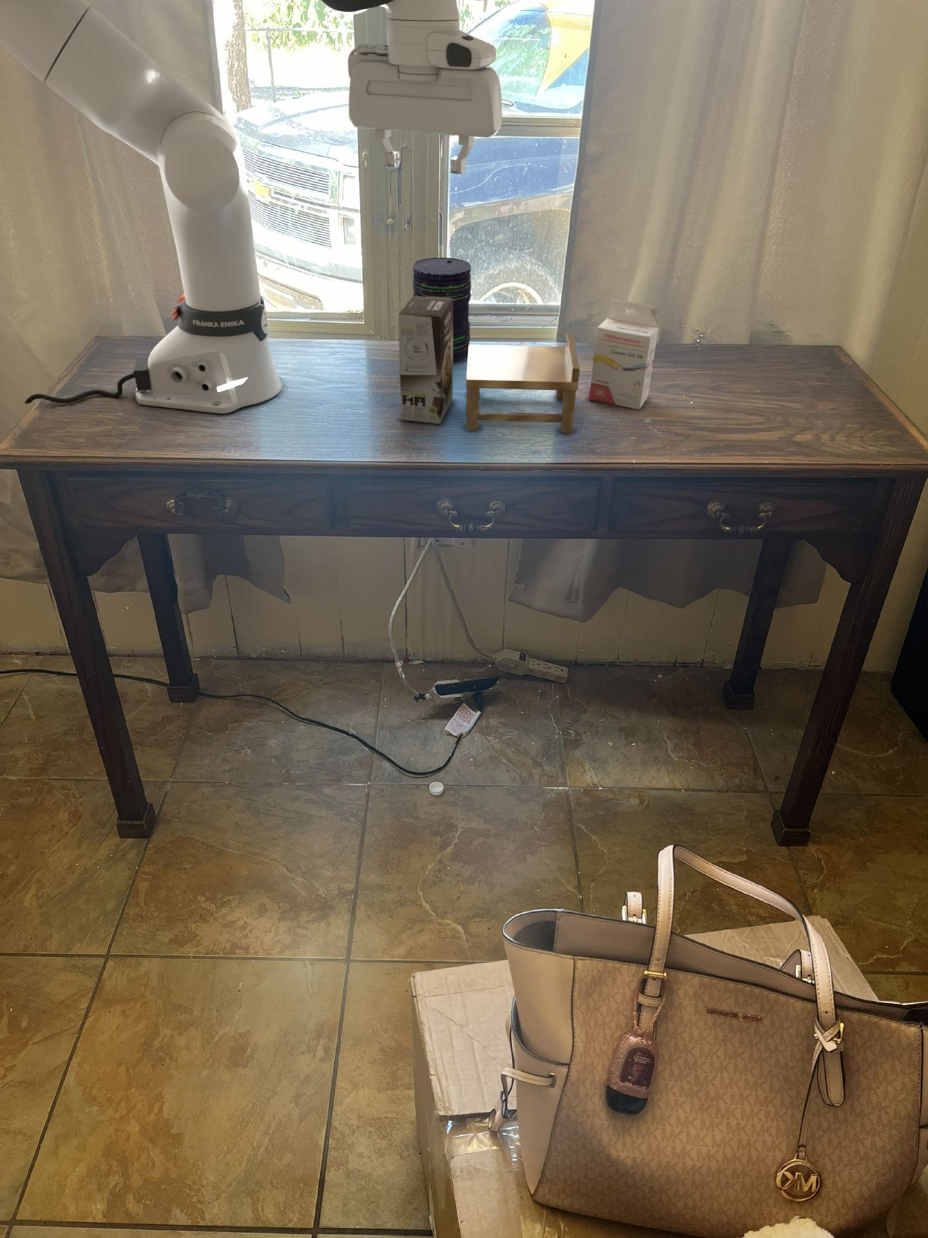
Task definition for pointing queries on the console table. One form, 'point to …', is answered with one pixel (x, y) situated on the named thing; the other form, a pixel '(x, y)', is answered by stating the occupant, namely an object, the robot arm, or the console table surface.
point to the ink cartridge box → (624, 355)
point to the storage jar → (448, 294)
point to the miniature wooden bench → (522, 379)
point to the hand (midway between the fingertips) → (424, 170)
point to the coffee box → (426, 358)
